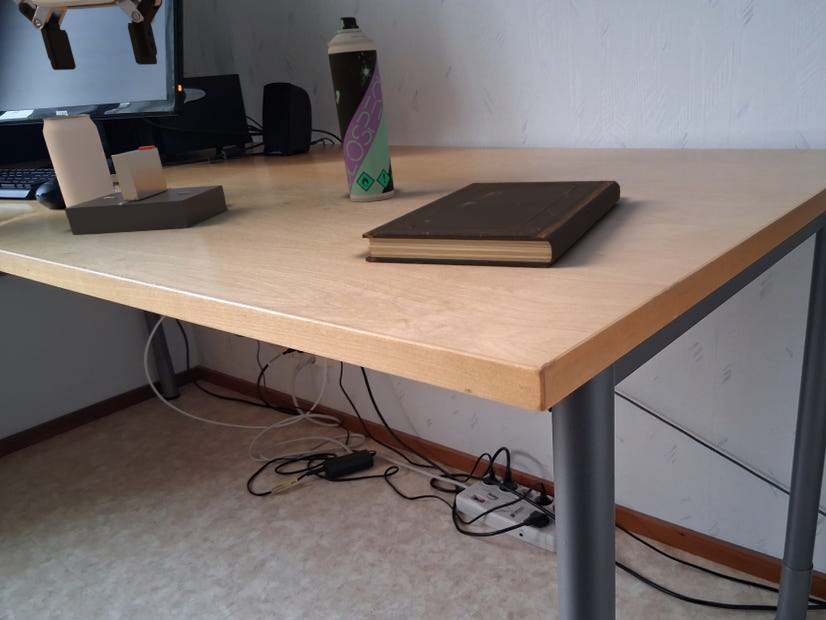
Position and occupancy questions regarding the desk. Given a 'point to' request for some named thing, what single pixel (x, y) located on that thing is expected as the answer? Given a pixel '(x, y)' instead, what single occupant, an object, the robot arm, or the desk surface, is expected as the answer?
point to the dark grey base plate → (147, 211)
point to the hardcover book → (495, 224)
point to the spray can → (360, 113)
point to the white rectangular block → (139, 173)
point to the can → (77, 158)
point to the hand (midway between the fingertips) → (105, 66)
